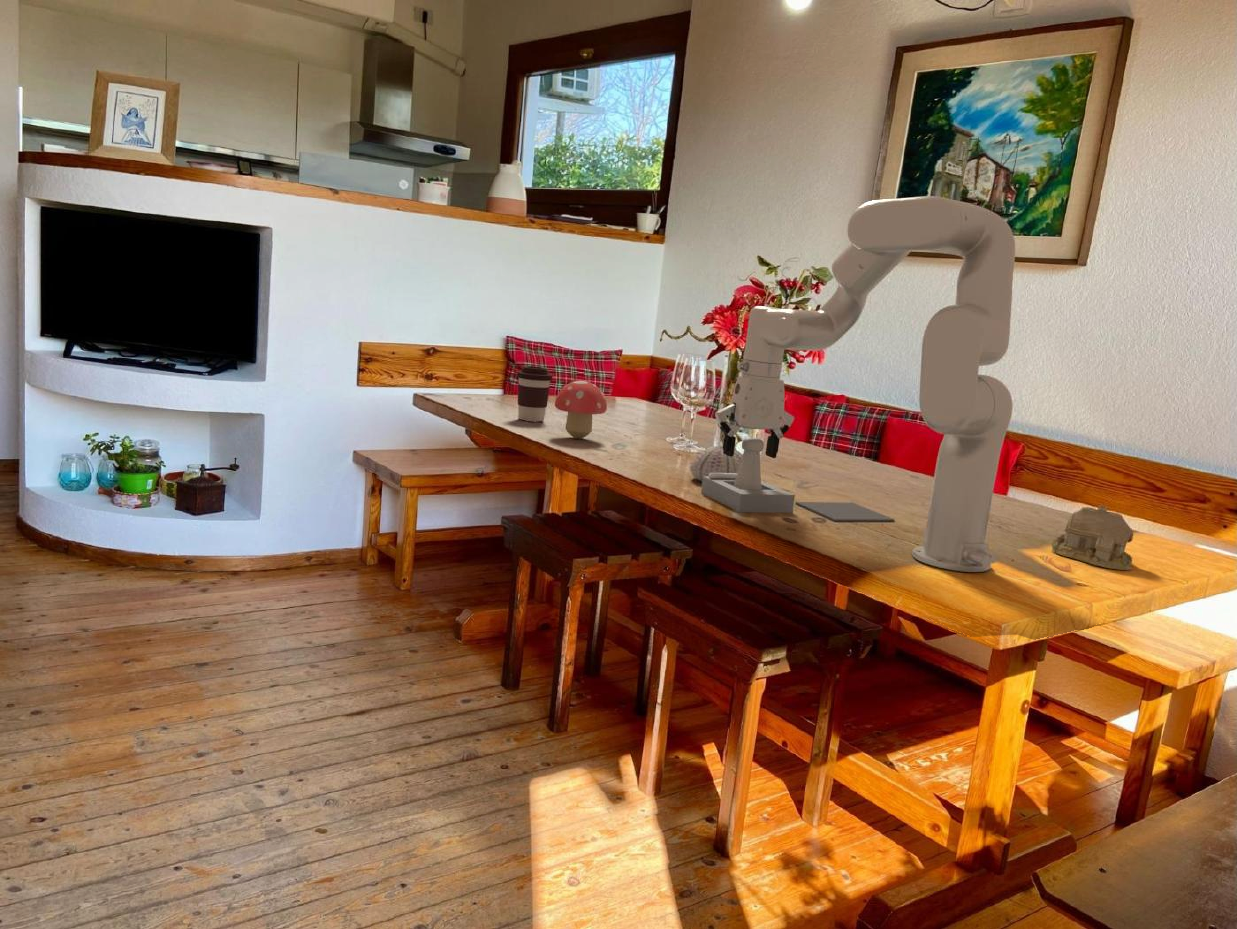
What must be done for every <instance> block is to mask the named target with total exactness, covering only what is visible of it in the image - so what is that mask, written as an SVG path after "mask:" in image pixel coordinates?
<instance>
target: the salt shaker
mask: <svg viewBox="0 0 1237 929" xmlns="http://www.w3.org/2000/svg"><path fill="white" fill-rule="evenodd" d="M764 443H765V442H764V440H762V439H760V438H757V437H745V438H744V439H742V442H741V450H742V449H743V453H742V455H743V456H742V460H741V463H740V466H739V470H738V473H737V476H736V480H735V483H734V487H736V488H739V489H750V490H762V489H761V480H762V475H761V455H760V454H761V452H763V450H764V447H765V446H764V445H765V444H764Z"/></svg>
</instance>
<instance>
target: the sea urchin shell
mask: <svg viewBox="0 0 1237 929" xmlns="http://www.w3.org/2000/svg"><path fill="white" fill-rule="evenodd" d="M742 456H743V453H741V452H740V451H739V450H738V449H736V448H735V449H734V456H733V457H730V456H727V455H725V454H724V453H723V445H713V446H709V447H708V448H705V449H704V450H701V452H698V454H697V455H695V458H693V460H692V462H691V463H690V466H689V468H690V472H691V475H692V477H693V478H694V479H697V480H699V481H700V482H702V481H703V476H709V473H738V470H739V466H740V463H741V460H742Z"/></svg>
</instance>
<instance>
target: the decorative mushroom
mask: <svg viewBox="0 0 1237 929" xmlns="http://www.w3.org/2000/svg"><path fill="white" fill-rule="evenodd" d="M554 407H555V408H556V409H557V410H558V411H560V412H561V411H562V412H566V413H567V414H566V415H567V417H566V423H565V431H567V433H568V434H569V435H570V436H571V437H572V438H574V439H577V438H578V440H579V439H584V438H585V437H588V436H589V435H590V434H591V433H592V431H593V415H601V414H604V413H606V412H607V408H608V405H607V400H606V396H605V395H604V392H603V391H602V390H601V389H600V388H599V387H598V386H597V385H596V384H594V383H592V382H590V381H586V380H575V381H572V382H569V383H567V384H566V385H565V386H563V387H562V388H561V390H560V391H559V392H558V394H557V395H556V398H555V401H554Z"/></svg>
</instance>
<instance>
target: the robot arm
mask: <svg viewBox="0 0 1237 929" xmlns="http://www.w3.org/2000/svg"><path fill="white" fill-rule="evenodd" d="M847 236H848V241H850V244H849V245H848V246H847V247H846V248H845V249H844V250H843V251H842V253H840V254H839V256H837V257H836V258H835V259H834V261H833V262H832V265H831V272H832V275H833V277H834V279H835V281H836V282H837V283H838V286H837V287H836V290H835V292H834V293H833V295H832V296H831V297H830V298H829V299H828V300H827V301H826V302H825V303H824V304H823V305H822V306H821V308H819V309H818V310H808V309H807V310H805V309H789V308H787V309H784V308H780V307H773V306H763V305H757V306H754V307H752V308H751V310H750V312H749V317H748V324H747V325H748V326H747V333H746V341H745V348H744V354H743V359H742V362H738V363H737V365H736V368H737V370H739V371H740V372H741V374H738V377H737V380H736V381H735V385H734V389H733V392H732V396H731V401H730V404H729V405H726V406H725V407H722V408H721V409H719V410H717V411H715V413H714V415H715V419H716V422H717V427H719V429H720V430H721V432H722V434H724V435H723V436H724V437H723V442H722V446H723V453H724V454H725V455H727V456H730V457H733V456H734V449H735V450H736V440H737V438H736V436H735V434H737V432H738V431H739V430H740V429H741V428H742V429H747V430H765V431H766V430H768V432H769V433H770V435H767V441H766V448H765V452H764V453H765V456H766V457H769V458H771V459H776V458H777V455H778V453H779V446H780V440H781V439H783V438H784V436H785V434H786V433H787V432H788V431H789V430H790V427H791V426H792V424H793V423H794V420H795V416H793V415H792V414H790V413H789V412H787V411H786V410H785V382H784V379H781V375H782V374H781V373H782V368H783V360H784V352H785V350H788V351H811V352H813V351H814V352H817V351H818V352H820V351H824V350H826V349H828V348H830V347H831V346H833V345H835V343H837V342H838V341H839V340H840V339H841V338H842V337H844V335H845V334H846V333H848V331H850V329H852V328H853V327H854V325H855V324H856V323H857V322H858V320H859V319H860V317H861V314H862V312H863V310H864V307H865V306H866V303H867V298H868V295H869V294H871V292H872V290H874V289H875V288H876V286H878V284H880V283H881V282H882V281H883V280H884V279H885V278H886V277H887V276H888V275H889V274H890V273H891V272H892V271H893V270H894V269H895V268H896V267H897V266H898V265H899V264H900V263H901V262H902V261H903V260H904V259H906V257H907V256H908V255H909V254H910V253H911V252H912V251H928V252H933V253H941V254H945V255H954V256H957V257H960V258H962V259H963V264H962V265H961V268H960V270H959V273H958V276H957V280H956V296H955V297H956V298H955V304H952V305H948V306H945V307H943V308H941V309H939V310H938V311H937V312H936V313H934V314H933V316H932V317H931V318H930V320H929V321H928V323H927V324H926V327H925V330H924V332H923V333H924V334H923V336H922V343H921V344H922V346H921V361H920V363H921V364H920V376H919V395H918V396H919V397H918V398H919V400H918V402H919V410H920V415H921V417H922V419H923V421H924V423H925V424H926V426H928V427H929V428H930V429H931V430H933V431H934V432H936V433H938V434H941V435H943V438H942V441H941V442H940V446H939V450H938V453H937V454H938V455H937V458H936V464H935V470H934V475H933V476H934V477H933V484H932V489H931V495H930V501H929V502H930V503H929V509H928V514H927V521H926V527H925V533H924V539H923V540H924V541H923V545H918V546H915V547H913V549H912V557H914V559H915V560H917V561H919V562H921V563H923V564H926V565H929V566H932V567H936V568H940V569H945V570H948V571H949V570H950V571H954V572H955V571H956V572H964V573H965V572H966V573H982V572H987V571H989V570H990V569H991V567H992V564H995V563H996V562H997V556H996V555H995V554H992V553H990V552H988V550H989V543H988V542H985V541H986V535H987V529H988V523H989V520H990V519H989V517H990V510H991V506H992V499H993V495H994V488H995V482H996V476H997V472H998V468H999V467H998V466H999V462H1000V461H999V460H1000V456H1001V452H1002V448H1003V443H1004V440H1005V437H1006V434H1007V431H1008V428H1009V425H1010V422H1011V418H1012V414H1013V398H1012V395H1011V392H1010V391H1009V389H1008V387H1007V386H1006V384H1004V383H1003V381H1001V380H1000V379H998V378H996V377H993V376H991V375H987V374H979V368H980V367H982V366H983V367H984V366H985V367H986V366H989V365H993V364H996V363H997V362H999V361H1001V359H1002V358H1003V357H1005V355H1006V353H1007V351H1008V348H1009V344H1010V335H1011V334H1010V332H1011V317H1012V316H1011V315H1012V305H1013V304H1012V302H1013V281H1014V278H1013V276H1014V269H1015V260H1016V241H1015V236H1014V234H1013V231H1012V229H1011V227H1010V225H1009V224H1008V222H1007V221H1006V220H1005V219H1004V218H1003V217H1001V216H1000V215H999V214H997V213H996V212H993V211H992V210H990V209H987V208H985V207H982V206H978V205H976V204H973V203H969V202H965V201H959V200H955V199H951V198H948V197H945V196H944V197H942V196H936V195H924V196H923V195H922V196H913V197H901V198H899V197H898V198H888V199H887V198H886V199H875V200H870V201H867V202H865V203H863V204H861V205H860V206H858V208H856V210H855V211H854V212H853V213H852V215H851V216H850V218H849V220H848V224H847ZM726 416H728V421H729V422H728V423H727V422H726Z"/></svg>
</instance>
